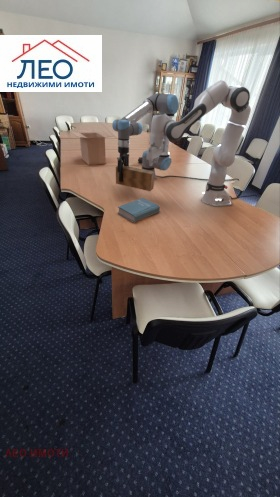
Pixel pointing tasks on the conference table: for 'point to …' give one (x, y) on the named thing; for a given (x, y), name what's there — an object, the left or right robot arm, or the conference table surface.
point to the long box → (136, 178)
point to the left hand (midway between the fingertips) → (123, 180)
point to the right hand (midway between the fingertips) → (153, 164)
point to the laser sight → (140, 160)
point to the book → (138, 209)
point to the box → (92, 146)
